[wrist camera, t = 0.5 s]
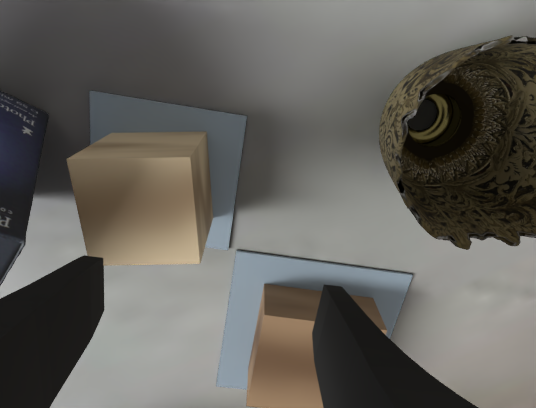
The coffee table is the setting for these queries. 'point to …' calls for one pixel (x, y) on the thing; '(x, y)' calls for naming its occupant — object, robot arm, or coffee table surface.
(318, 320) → the robot arm
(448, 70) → the cup
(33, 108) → the small box
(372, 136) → the coffee table surface
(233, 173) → the code tile
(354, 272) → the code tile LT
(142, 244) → the oak block
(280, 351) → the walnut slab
